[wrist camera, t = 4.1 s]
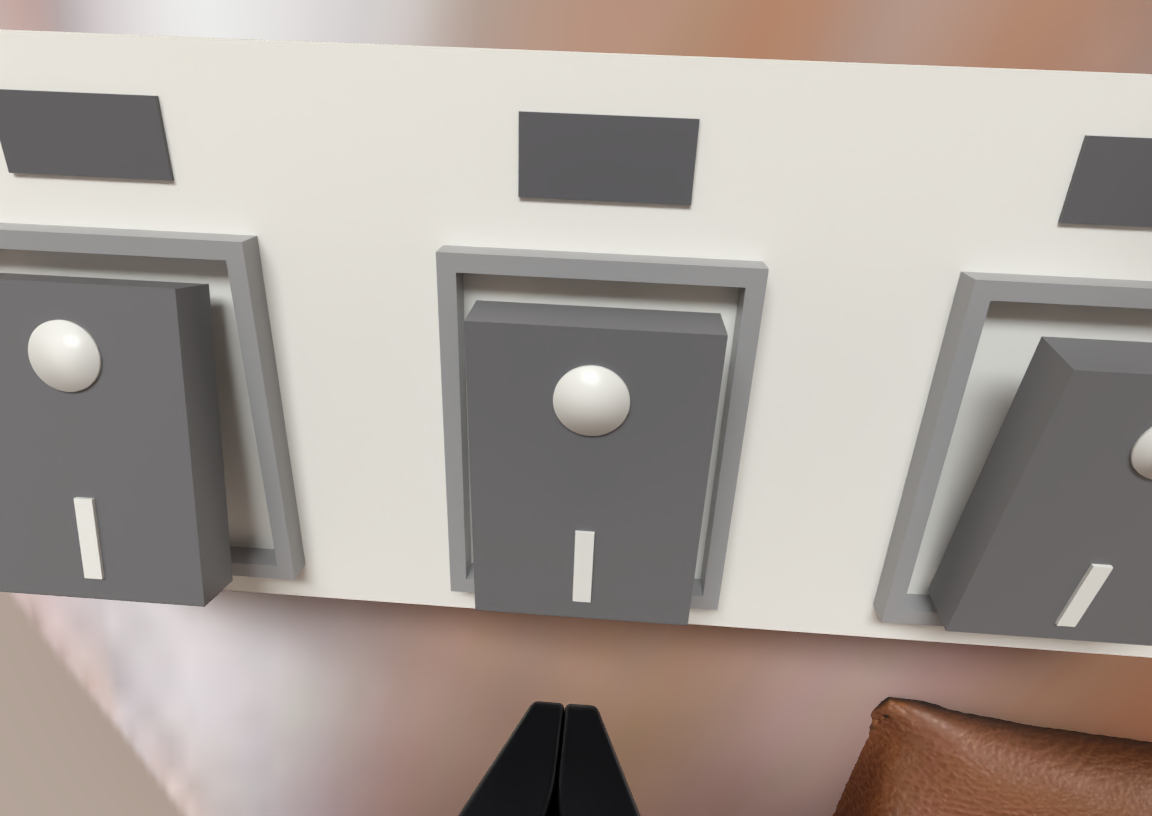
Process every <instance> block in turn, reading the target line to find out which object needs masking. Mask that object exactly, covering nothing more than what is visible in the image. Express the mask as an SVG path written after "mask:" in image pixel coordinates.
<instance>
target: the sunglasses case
mask: <svg viewBox="0 0 1152 816" xmlns="http://www.w3.org/2000/svg"><path fill="white" fill-rule="evenodd" d="M871 717H872V724H871V725H870V732H869V738H868V739H867V741H866V743H865V746H864V747H863V749H862V751H861V753H860V756H859V758H858V761H857V763H856V764H855V767H854V769H853V771H852V773H851V776H850V778H849V781H848V783H847V784H846V787H845V789H844V792H843V793H842V797H841V799H840V801H839V803H838V805H837V809H836V812H835V813H834V814H833V816H1152V742H1146V741H1138V740H1132V739H1126V738H1117V737H1109V736H1103V735H1092V734H1087V733H1080V732H1076V731H1068V730H1061V729H1052V728H1043V727H1037V726H1031V725H1024V724H1020V723H1015V722H1011V721H1005V720H1001V719H995V718H991V717H983V716H978V715H974V714H967V713H962V712H959V711H953V710H948V709H946V708H943V707H941V706H939V705H936V704H931V703H928V702H924V701H919V700H909V699H900V698H892V697H888V698H886V699H885V700H884V701H882V702H881V703H880V704H879V705H878V706H877V707H876V708H875V709H874V710H873V711H872V714H871Z"/></svg>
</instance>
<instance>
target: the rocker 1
mask: <svg viewBox="0 0 1152 816" xmlns="http://www.w3.org/2000/svg"><path fill="white" fill-rule="evenodd" d="M232 581H233V576H232V564H231V551H230V539H229V526H228V514H227V502H226V489H225V477H224V465H223V452H222V440H221V428H220V415H219V403H218V391H217V378H216V366H215V354H214V341H213V329H212V317H211V304H210V292H209V284H200V283H182V282H163V281H145V280H126V279H108V278H89V277H70V276H52V275H33V274H15V273H0V592H12V593H26V594H40V595H53V596H67V597H80V598H94V599H107V600H121V601H135V602H148V603H162V604H175V605H189V606H202V607H205V606H206V605H207V604H208V603H209V602H210V601H211V600H212V599H213V598H214V597H215V596H217V595H218V594H219V593H220V592H221V591H222V590H223V589H224V588H225V587H226V586H227V585H228V584H229V583H231V582H232Z"/></svg>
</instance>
